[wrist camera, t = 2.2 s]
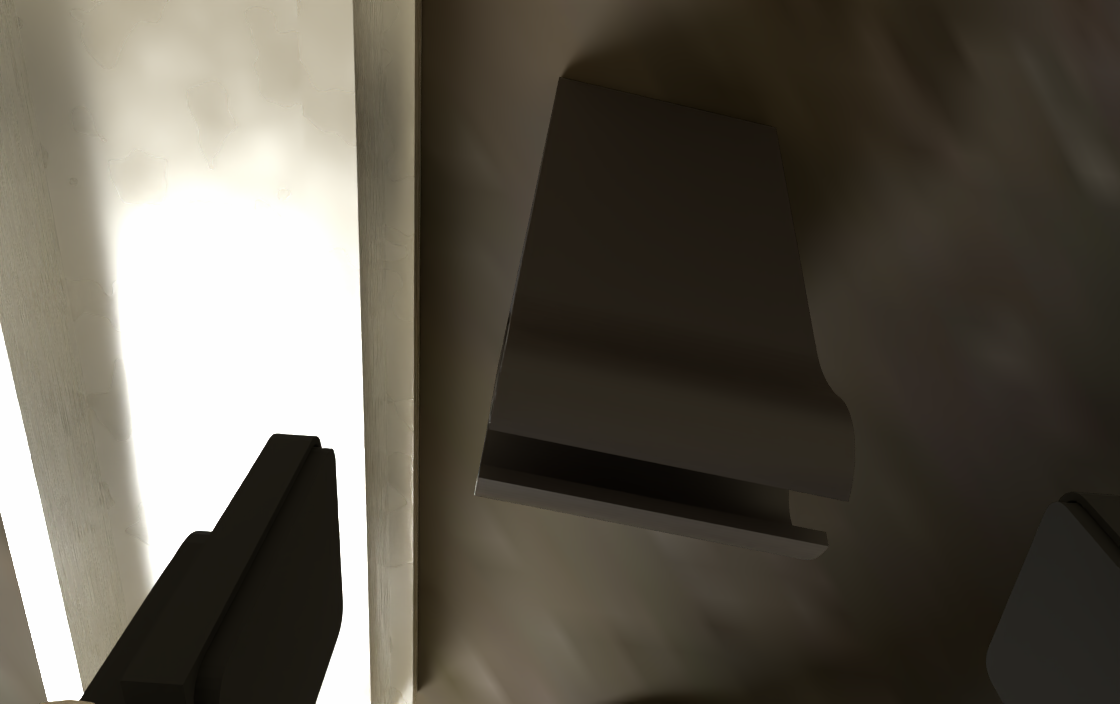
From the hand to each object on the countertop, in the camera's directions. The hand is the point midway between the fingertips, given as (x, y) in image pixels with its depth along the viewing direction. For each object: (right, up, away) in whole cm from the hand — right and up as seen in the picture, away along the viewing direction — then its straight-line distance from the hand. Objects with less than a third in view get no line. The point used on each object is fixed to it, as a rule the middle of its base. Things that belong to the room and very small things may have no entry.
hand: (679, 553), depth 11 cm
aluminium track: (-12, +3, +15) cm, 19 cm away
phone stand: (0, +6, +14) cm, 15 cm away
